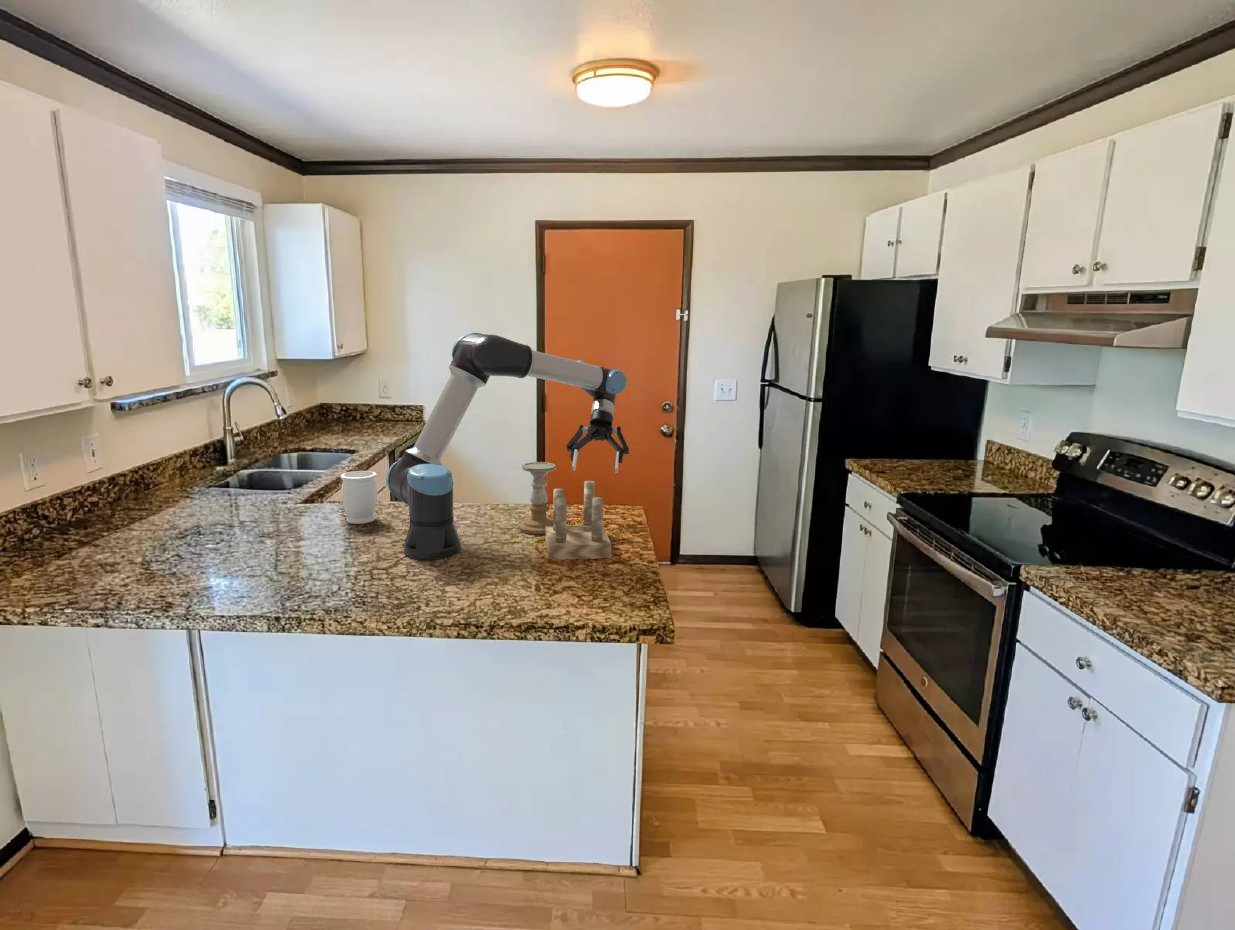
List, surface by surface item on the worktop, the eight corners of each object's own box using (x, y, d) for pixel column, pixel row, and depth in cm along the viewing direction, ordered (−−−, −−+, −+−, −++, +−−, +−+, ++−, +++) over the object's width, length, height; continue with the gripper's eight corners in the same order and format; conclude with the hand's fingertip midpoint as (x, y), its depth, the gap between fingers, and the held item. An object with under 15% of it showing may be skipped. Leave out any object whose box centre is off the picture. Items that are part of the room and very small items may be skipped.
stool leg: (583, 534, 202) (585, 483, 198) (582, 531, 205) (583, 480, 202) (594, 534, 202) (595, 483, 199) (593, 530, 205) (594, 480, 202)
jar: (366, 526, 203) (364, 479, 199) (336, 523, 205) (333, 476, 201) (385, 517, 213) (383, 471, 210) (356, 514, 215) (353, 469, 212)
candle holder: (542, 537, 198) (542, 471, 193) (510, 529, 204) (510, 465, 200) (566, 527, 208) (567, 464, 204) (535, 520, 214) (535, 459, 210)
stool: (548, 559, 180) (549, 502, 176) (545, 539, 196) (545, 486, 193) (610, 557, 183) (612, 501, 179) (602, 538, 199) (603, 486, 195)
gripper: (639, 424, 223) (634, 477, 212) (566, 421, 226) (557, 473, 215) (638, 410, 217) (633, 465, 206) (563, 407, 220) (554, 461, 208)
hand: (594, 469), depth 210 cm, fingers open, 13 cm apart
